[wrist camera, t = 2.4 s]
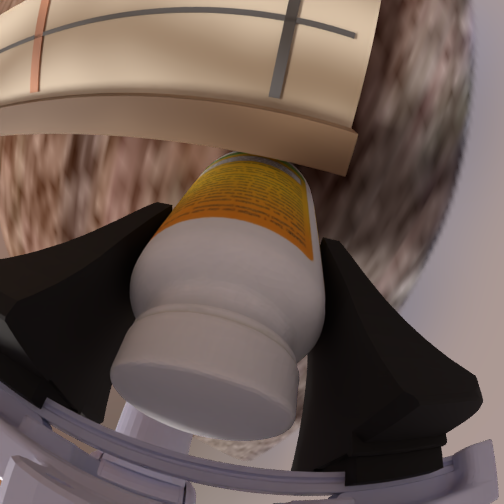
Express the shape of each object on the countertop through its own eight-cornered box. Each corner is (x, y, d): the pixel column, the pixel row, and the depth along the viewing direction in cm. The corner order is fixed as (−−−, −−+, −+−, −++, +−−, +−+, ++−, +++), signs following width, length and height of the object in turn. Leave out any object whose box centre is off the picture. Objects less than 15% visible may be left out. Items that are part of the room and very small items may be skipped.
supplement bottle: (177, 175, 12) (39, 342, 5) (286, 127, 11) (271, 302, 3) (228, 263, 15) (175, 444, 7) (327, 233, 13) (350, 441, 5)
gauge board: (335, 157, 11) (345, 176, 9) (-2, 126, 11) (-27, 138, 9) (375, -8, 6) (393, -24, 4) (5, 18, 6) (-22, 22, 4)
